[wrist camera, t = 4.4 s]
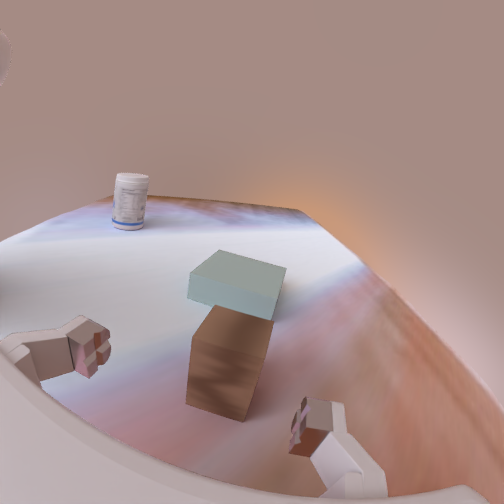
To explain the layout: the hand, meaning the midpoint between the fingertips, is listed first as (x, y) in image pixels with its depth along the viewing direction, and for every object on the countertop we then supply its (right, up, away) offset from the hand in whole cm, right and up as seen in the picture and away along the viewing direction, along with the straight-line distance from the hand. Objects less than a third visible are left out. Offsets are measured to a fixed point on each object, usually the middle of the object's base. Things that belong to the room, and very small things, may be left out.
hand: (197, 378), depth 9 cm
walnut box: (-1, -10, +17) cm, 20 cm away
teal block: (0, -3, +40) cm, 40 cm away
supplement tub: (-33, +12, +62) cm, 72 cm away
